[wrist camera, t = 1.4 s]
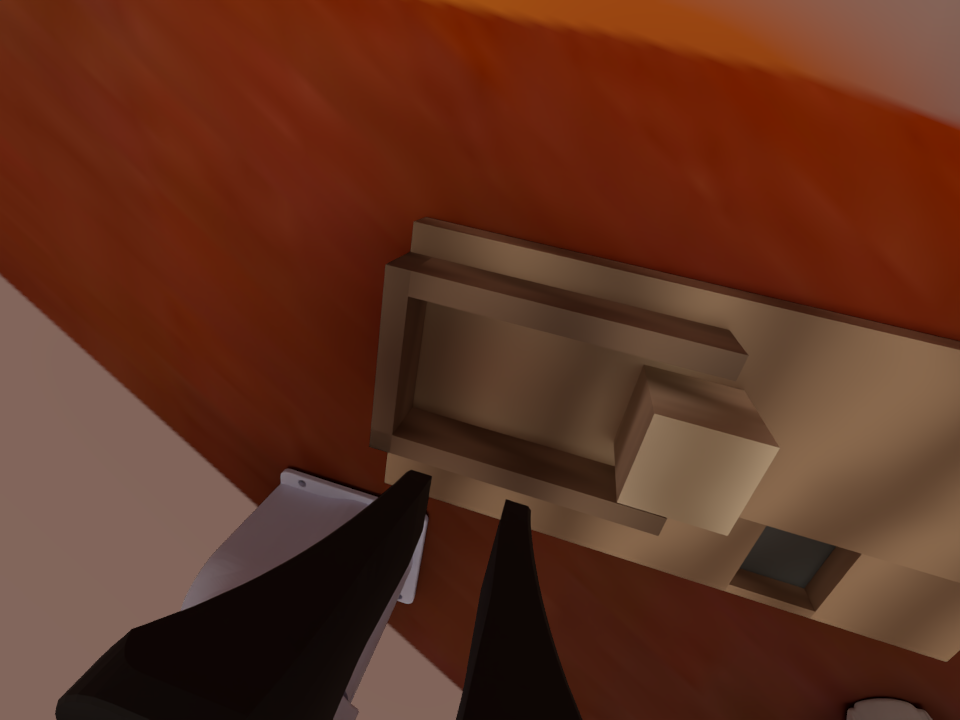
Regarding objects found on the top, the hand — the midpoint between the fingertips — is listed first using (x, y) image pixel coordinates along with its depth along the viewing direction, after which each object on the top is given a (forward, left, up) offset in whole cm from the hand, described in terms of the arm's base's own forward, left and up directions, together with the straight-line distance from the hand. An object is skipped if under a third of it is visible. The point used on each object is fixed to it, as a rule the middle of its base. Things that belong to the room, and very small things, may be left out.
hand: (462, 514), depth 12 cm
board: (+10, -1, -10) cm, 14 cm away
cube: (+7, 0, -9) cm, 11 cm away
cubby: (+1, 0, -9) cm, 9 cm away
